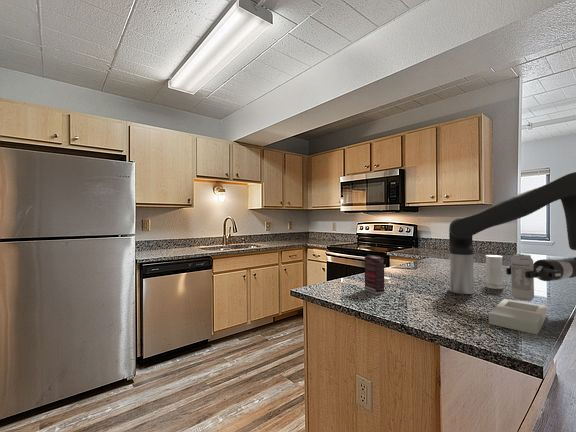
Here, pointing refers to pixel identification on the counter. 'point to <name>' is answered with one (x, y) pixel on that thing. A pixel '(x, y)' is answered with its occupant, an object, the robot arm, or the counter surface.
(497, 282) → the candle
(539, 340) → the counter surface
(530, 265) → the energy drink can
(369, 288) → the supplement box
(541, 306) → the socket block
